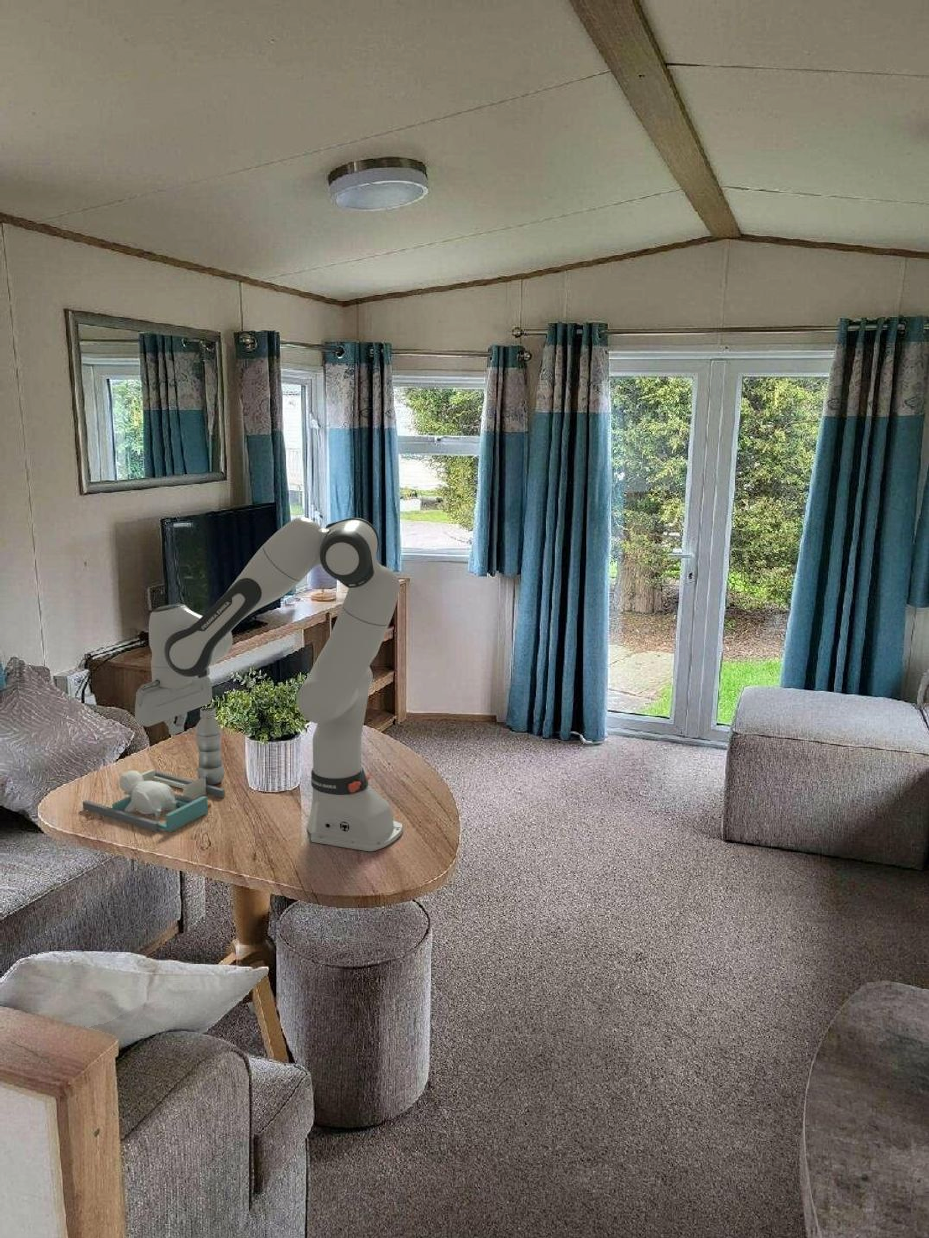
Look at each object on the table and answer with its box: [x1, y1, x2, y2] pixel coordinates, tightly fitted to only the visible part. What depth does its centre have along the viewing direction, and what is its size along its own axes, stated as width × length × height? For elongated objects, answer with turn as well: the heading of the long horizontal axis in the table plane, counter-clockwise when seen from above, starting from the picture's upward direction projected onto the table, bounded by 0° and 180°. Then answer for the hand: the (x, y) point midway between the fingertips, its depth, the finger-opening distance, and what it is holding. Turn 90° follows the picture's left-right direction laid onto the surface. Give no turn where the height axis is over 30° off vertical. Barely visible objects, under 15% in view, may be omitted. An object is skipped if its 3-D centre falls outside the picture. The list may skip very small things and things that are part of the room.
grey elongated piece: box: [140, 768, 207, 799], centre depth 219 cm, size 19×6×4 cm, turn 62°
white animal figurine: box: [118, 770, 177, 821], centre depth 209 cm, size 9×8×15 cm
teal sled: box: [111, 794, 209, 833], centre depth 206 cm, size 19×12×4 cm, turn 62°
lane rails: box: [82, 770, 226, 833], centre depth 213 cm, size 24×22×2 cm
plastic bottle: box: [194, 706, 225, 786], centre depth 223 cm, size 6×7×20 cm
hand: (176, 733), depth 199 cm, fingers closed
